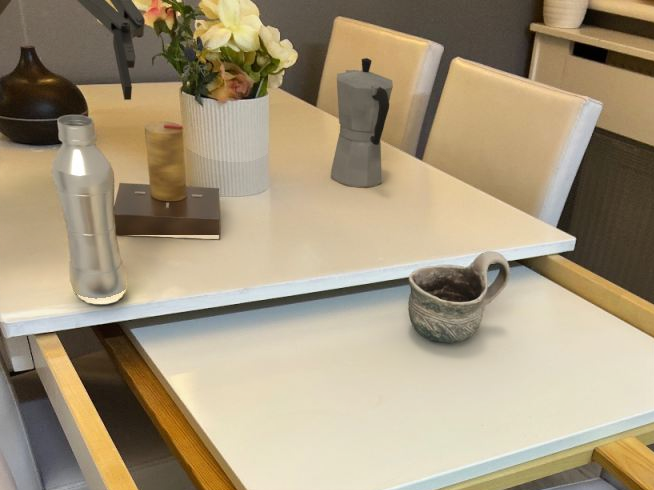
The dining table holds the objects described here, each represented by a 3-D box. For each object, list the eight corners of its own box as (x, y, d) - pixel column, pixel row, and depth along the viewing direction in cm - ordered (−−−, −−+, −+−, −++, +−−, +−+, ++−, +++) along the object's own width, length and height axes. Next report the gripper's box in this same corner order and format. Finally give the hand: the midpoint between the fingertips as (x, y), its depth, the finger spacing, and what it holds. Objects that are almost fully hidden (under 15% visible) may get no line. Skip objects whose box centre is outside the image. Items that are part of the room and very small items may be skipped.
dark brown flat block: (114, 235, 106) (112, 212, 104) (122, 200, 115) (120, 178, 113) (219, 240, 109) (219, 217, 107) (219, 205, 118) (219, 184, 115)
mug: (386, 322, 97) (396, 245, 90) (465, 304, 103) (480, 230, 96) (431, 361, 92) (446, 282, 85) (512, 340, 98) (531, 264, 91)
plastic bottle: (77, 315, 90) (46, 132, 77) (69, 287, 95) (38, 110, 81) (134, 309, 93) (113, 131, 79) (123, 282, 97) (102, 109, 84)
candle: (149, 200, 109) (143, 129, 102) (151, 186, 112) (145, 117, 106) (186, 202, 110) (182, 132, 103) (187, 188, 113) (183, 120, 107)
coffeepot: (316, 164, 135) (323, 46, 123) (367, 162, 138) (377, 47, 126) (349, 199, 125) (360, 74, 113) (402, 196, 128) (418, 75, 116)
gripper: (140, -65, 94) (175, 109, 95) (-93, -80, 86) (-53, 112, 87) (143, -114, 87) (181, 75, 88) (-110, -135, 79) (-66, 74, 79)
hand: (65, 94), depth 87 cm, fingers open, 13 cm apart
